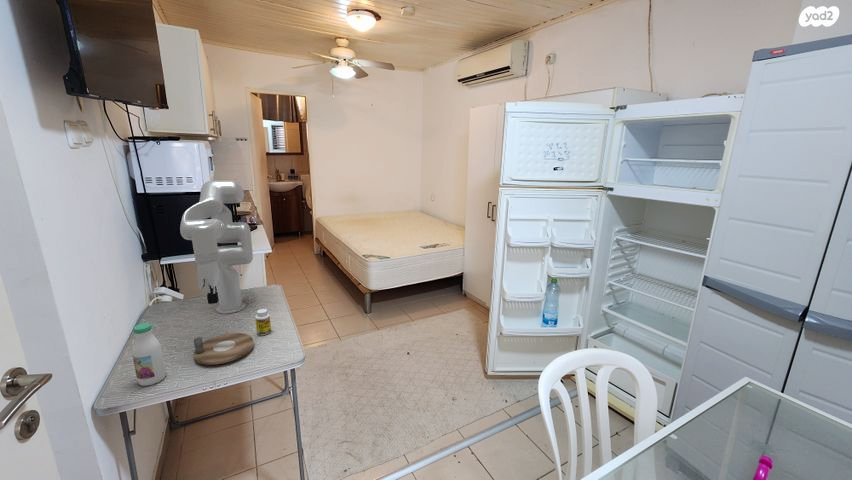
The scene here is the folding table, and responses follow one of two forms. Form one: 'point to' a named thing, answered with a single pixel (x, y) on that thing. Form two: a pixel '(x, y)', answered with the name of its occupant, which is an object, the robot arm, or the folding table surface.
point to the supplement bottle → (263, 322)
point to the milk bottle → (147, 356)
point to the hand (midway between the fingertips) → (213, 302)
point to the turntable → (222, 348)
